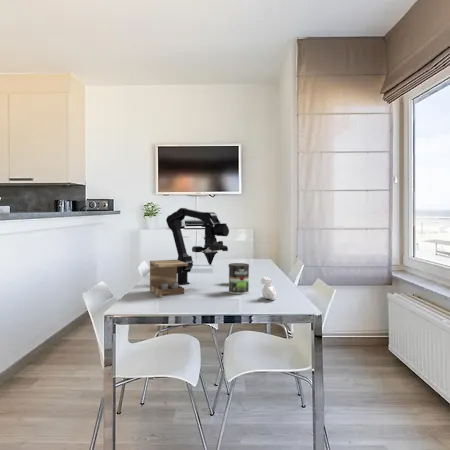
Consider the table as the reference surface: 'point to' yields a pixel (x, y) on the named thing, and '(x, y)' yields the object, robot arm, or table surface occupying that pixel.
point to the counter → (163, 274)
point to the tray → (171, 289)
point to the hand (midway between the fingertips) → (210, 264)
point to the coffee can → (238, 278)
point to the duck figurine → (268, 289)
